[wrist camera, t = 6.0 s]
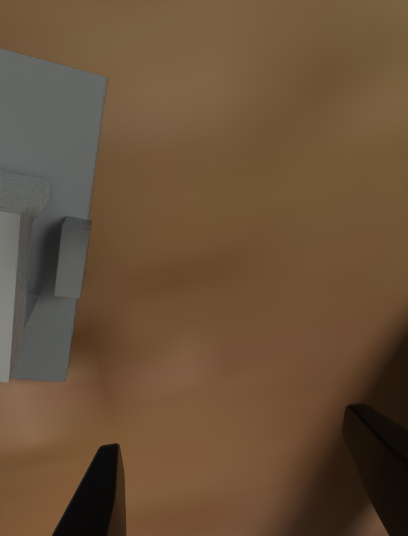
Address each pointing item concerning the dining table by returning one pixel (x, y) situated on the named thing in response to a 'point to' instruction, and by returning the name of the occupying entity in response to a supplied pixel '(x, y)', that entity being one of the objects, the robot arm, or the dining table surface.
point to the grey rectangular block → (17, 262)
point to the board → (62, 185)
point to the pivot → (72, 257)
